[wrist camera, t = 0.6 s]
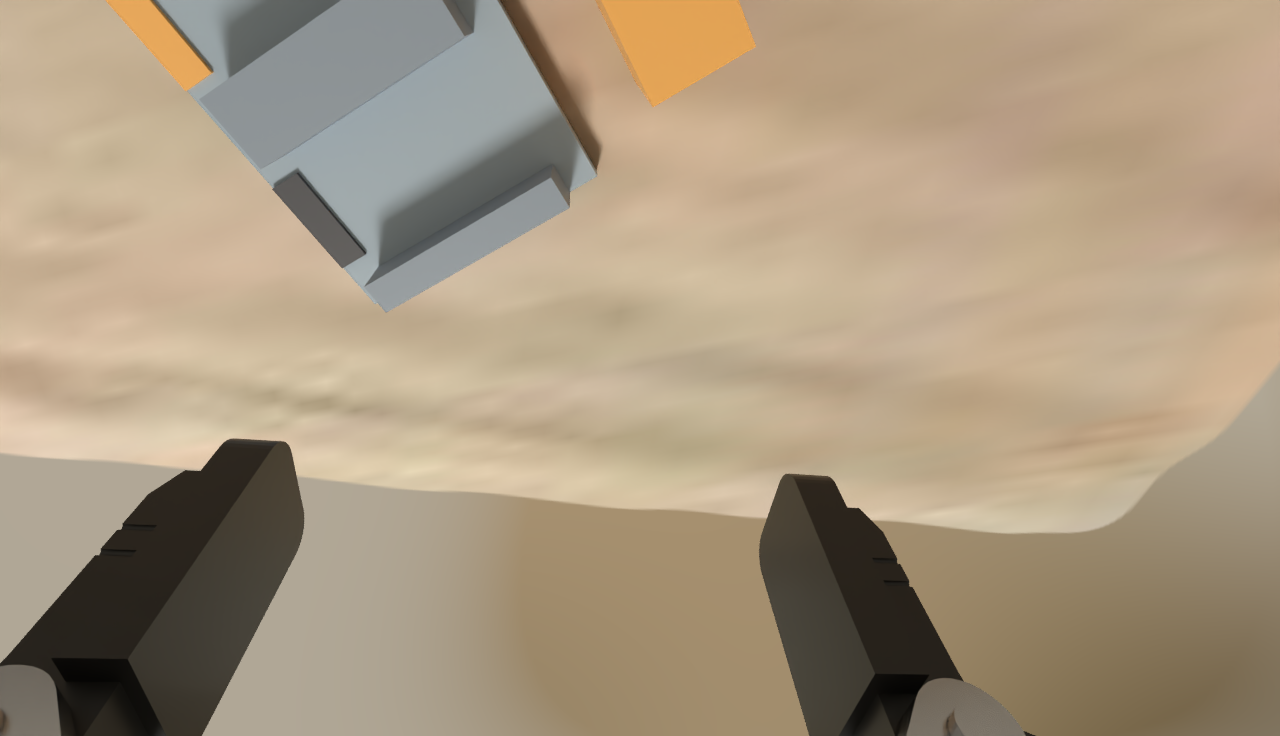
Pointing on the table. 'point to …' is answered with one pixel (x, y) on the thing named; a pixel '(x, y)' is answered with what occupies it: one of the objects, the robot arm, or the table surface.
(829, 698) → the robot arm
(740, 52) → the orange plug
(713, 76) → the table surface
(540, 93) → the comb board
